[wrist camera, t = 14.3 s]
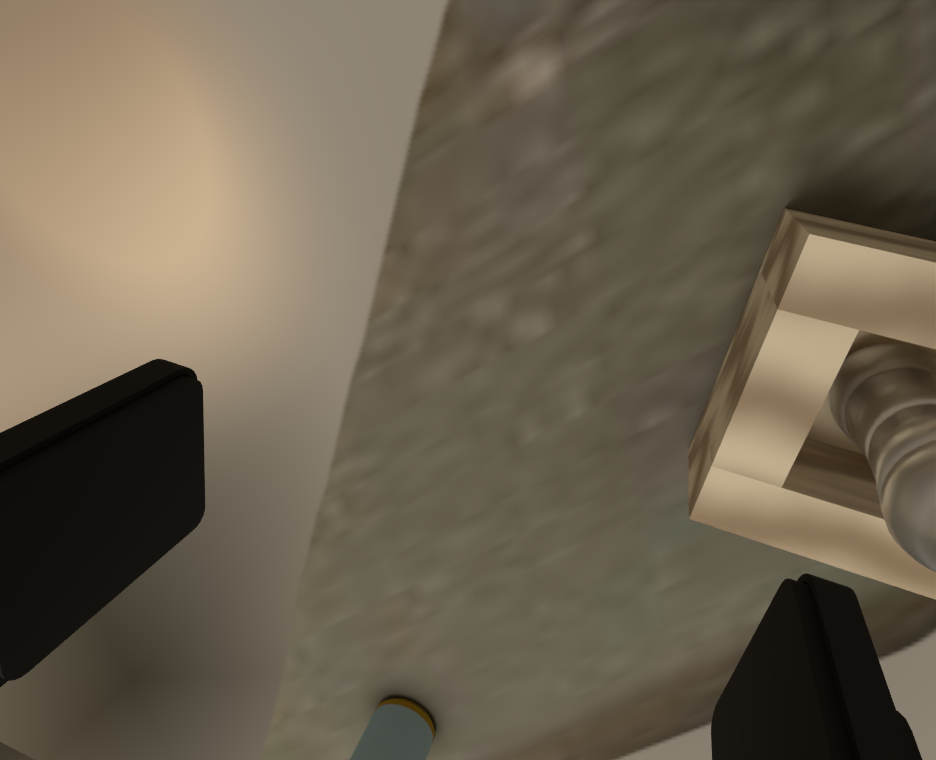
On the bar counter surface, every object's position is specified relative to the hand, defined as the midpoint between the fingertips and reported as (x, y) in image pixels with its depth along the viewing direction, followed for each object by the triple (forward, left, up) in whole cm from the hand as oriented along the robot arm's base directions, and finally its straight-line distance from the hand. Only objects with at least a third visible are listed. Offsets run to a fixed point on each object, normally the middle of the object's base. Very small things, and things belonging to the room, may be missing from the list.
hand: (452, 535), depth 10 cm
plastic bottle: (+7, +18, -36) cm, 40 cm away
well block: (+7, +18, -36) cm, 41 cm away
